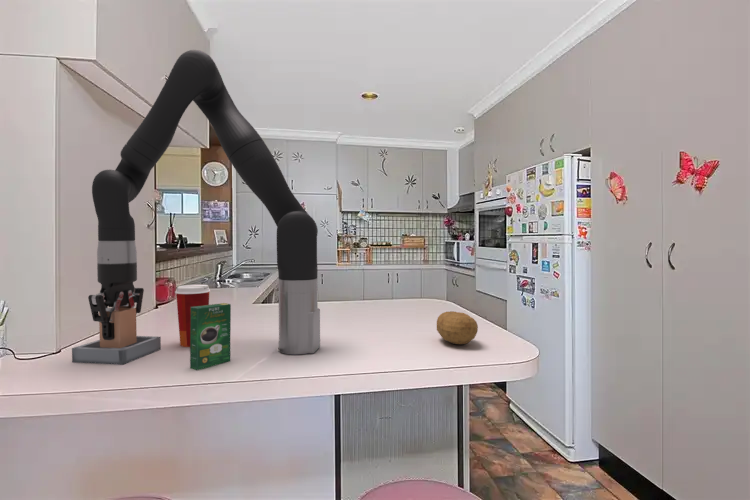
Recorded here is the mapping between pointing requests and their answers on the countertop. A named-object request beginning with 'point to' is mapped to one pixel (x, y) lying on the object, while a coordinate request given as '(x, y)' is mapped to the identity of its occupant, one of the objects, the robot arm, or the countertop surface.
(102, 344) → the light brown open box
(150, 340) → the tray
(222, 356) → the coffee box
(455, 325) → the potato
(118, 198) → the robot arm
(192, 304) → the coffee cup
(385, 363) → the countertop surface
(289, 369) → the countertop surface
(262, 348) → the countertop surface
